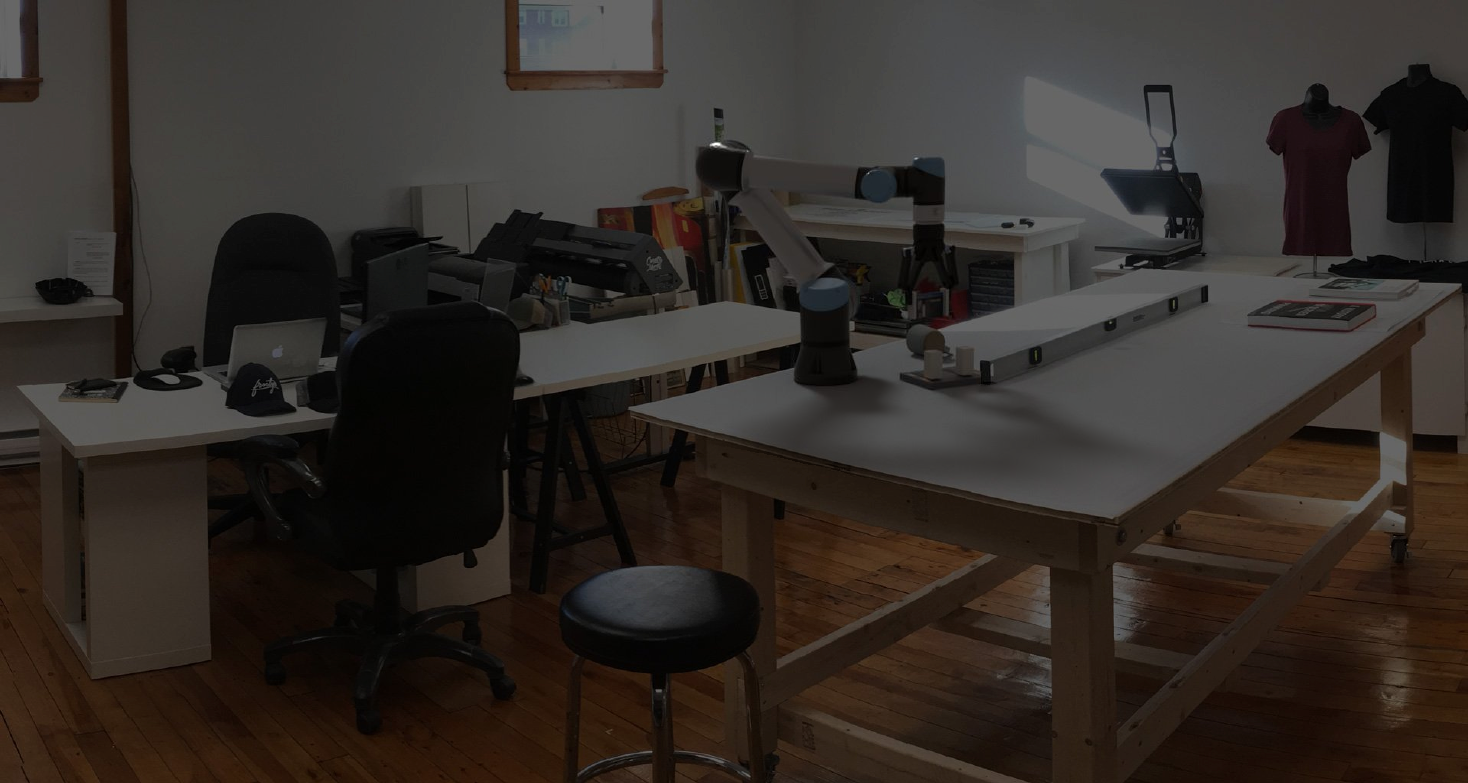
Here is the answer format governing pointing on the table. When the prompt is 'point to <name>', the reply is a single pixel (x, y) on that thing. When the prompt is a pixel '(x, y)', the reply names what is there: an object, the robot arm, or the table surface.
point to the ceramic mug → (925, 340)
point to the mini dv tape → (929, 305)
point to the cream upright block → (933, 364)
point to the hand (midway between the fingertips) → (928, 316)
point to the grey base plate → (942, 379)
